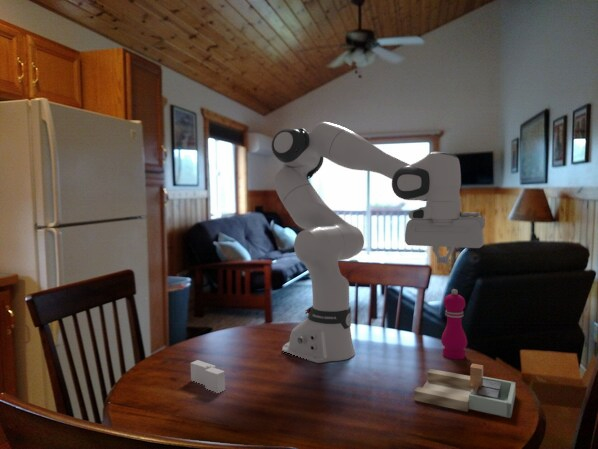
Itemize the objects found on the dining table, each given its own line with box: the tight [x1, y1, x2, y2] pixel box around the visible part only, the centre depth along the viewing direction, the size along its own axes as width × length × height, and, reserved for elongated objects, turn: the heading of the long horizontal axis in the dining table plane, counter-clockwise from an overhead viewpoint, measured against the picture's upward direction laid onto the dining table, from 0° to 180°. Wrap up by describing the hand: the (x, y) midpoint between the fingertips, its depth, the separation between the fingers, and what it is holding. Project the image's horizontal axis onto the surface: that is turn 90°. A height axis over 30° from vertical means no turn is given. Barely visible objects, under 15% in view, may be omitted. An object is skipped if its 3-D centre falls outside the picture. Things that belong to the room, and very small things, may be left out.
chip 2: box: [477, 387, 499, 400], centre depth 96 cm, size 4×4×3 cm
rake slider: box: [469, 363, 484, 395], centre depth 99 cm, size 2×9×7 cm, turn 150°
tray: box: [468, 376, 517, 419], centre depth 98 cm, size 8×12×4 cm
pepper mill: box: [441, 288, 468, 361], centre depth 128 cm, size 7×7×20 cm
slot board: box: [413, 368, 473, 413], centre depth 103 cm, size 12×15×3 cm
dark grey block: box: [482, 379, 501, 400], centre depth 100 cm, size 4×4×3 cm
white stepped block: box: [190, 359, 226, 394], centre depth 110 cm, size 15×11×6 cm
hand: (443, 263), depth 118 cm, fingers closed
